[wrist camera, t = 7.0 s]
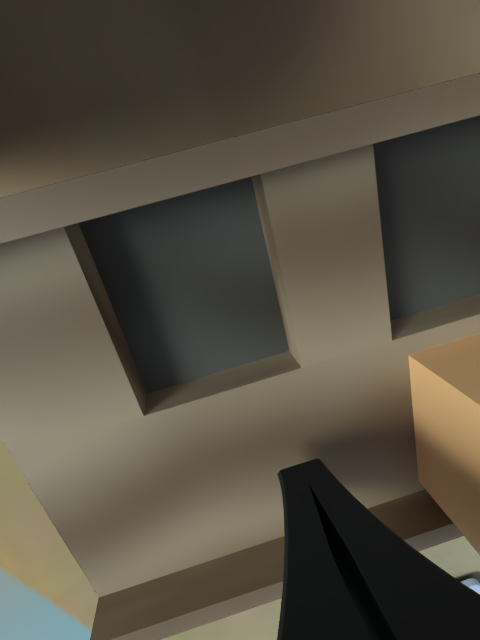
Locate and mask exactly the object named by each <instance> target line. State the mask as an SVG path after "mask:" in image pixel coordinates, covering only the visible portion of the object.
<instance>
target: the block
mask: <svg viewBox="0 0 480 640" xmlns="http://www.w3.org/2000/svg"><path fill="white" fill-rule="evenodd" d="M408 357H409V369H410V381H411V393H412V406H413V418H414V430H415V442H416V454H417V466H418V478H419V482H420V483H421V485H422V486H423V487H424V488H425V489H426V491H427V492H428V493H429V494H430V495H431V497H432V498H433V499H434V500H435V501H436V503H437V504H438V505H439V506H440V507H441V509H442V510H443V511H444V512H445V514H446V515H447V516H448V517H449V518H450V520H451V521H452V522H453V523H454V524H455V526H456V527H457V528H458V529H459V530H460V532H461V533H462V534H463V535H464V536H465V538H466V539H467V540H468V541H469V543H470V544H471V545H472V546H473V547H474V549H475V550H476V551H477V552H478V553H479V555H480V333H478V334H475V335H471V336H468V337H465V338H462V339H458V340H455V341H452V342H449V343H445V344H442V345H439V346H436V347H432V348H429V349H426V350H423V351H420V352H416V353H413V354H410V355H408Z"/></svg>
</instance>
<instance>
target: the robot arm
mask: <svg viewBox="0 0 480 640" xmlns="http://www.w3.org/2000/svg"><path fill="white" fill-rule="evenodd" d="M277 475H278V478H279V482H280V486H281V491H282V499H283V509H284V534H285V544H284V575H283V590H282V602H281V612H280V621H279V629H278V637H277V640H480V583H479V582H478V580H476V579H474V578H470V579H466V580H464V581H461V582H460V581H458V580H457V579H455V578H454V577H452V576H451V575H450V574H448V573H447V572H445V571H444V570H443V569H441V568H440V567H438V566H437V565H436V564H434V563H433V562H431V561H430V560H429V559H427V558H426V557H425V556H423V555H422V554H421V553H419V552H418V551H417V550H415V549H414V548H413V547H412V546H410V545H409V544H408V543H406V542H405V541H404V540H403V539H402V538H400V537H399V536H398V535H397V534H395V533H394V532H393V531H392V530H391V529H390V528H388V527H387V526H386V525H385V524H384V523H382V522H381V521H380V520H379V519H378V518H377V517H376V516H375V515H373V514H372V513H371V512H370V511H369V510H368V509H367V508H366V507H365V506H364V505H363V504H362V503H361V502H360V501H358V500H357V499H356V498H355V497H354V496H353V495H352V494H351V493H350V492H349V491H348V490H347V489H346V488H345V487H344V486H343V485H342V484H341V483H340V481H339V480H338V479H337V478H336V477H335V476H334V475H333V474H332V473H331V472H330V470H329V469H328V468H327V467H326V466H325V464H324V463H323V462H322V461H321V460H320V459H318V458H316V459H313V460H310V461H307V462H304V463H301V464H297V465H294V466H291V467H288V468H285V469H282V470H280V471H279V472H278V474H277Z"/></svg>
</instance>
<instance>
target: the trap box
mask: <svg viewBox="0 0 480 640" xmlns="http://www.w3.org/2000/svg"><path fill="white" fill-rule="evenodd" d="M478 333H480V73H478V74H474V75H470V76H466V77H462V78H458V79H455V80H451V81H447V82H443V83H439V84H435V85H431V86H428V87H424V88H420V89H416V90H412V91H408V92H405V93H401V94H397V95H393V96H389V97H385V98H382V99H378V100H374V101H370V102H366V103H362V104H359V105H355V106H351V107H347V108H343V109H339V110H335V111H332V112H328V113H324V114H320V115H316V116H312V117H309V118H305V119H301V120H297V121H293V122H289V123H286V124H282V125H278V126H274V127H270V128H266V129H263V130H259V131H255V132H251V133H247V134H243V135H240V136H236V137H232V138H228V139H224V140H220V141H216V142H213V143H209V144H205V145H201V146H197V147H193V148H190V149H186V150H182V151H178V152H174V153H170V154H167V155H163V156H159V157H155V158H151V159H147V160H144V161H140V162H136V163H132V164H128V165H124V166H120V167H117V168H113V169H109V170H105V171H101V172H97V173H94V174H90V175H86V176H82V177H78V178H74V179H71V180H67V181H63V182H59V183H55V184H51V185H48V186H44V187H40V188H36V189H32V190H28V191H25V192H21V193H17V194H13V195H9V196H5V197H1V198H0V440H1V441H2V443H3V444H4V446H5V448H6V449H7V451H8V452H9V454H10V456H11V457H12V459H13V460H14V462H15V464H16V465H17V467H18V468H19V470H20V472H21V473H22V475H23V477H24V478H25V480H26V481H27V483H28V485H29V486H30V488H31V489H32V491H33V493H34V494H35V496H36V497H37V499H38V501H39V502H40V504H41V505H42V507H43V509H44V510H45V512H46V513H47V515H48V517H49V518H50V520H51V521H52V523H53V525H54V526H55V528H56V529H57V531H58V533H59V534H60V536H61V538H62V539H63V541H64V542H65V544H66V546H67V547H68V549H69V550H70V552H71V554H72V555H73V557H74V558H75V560H76V562H77V563H78V565H79V566H80V568H81V570H82V571H83V573H84V574H85V576H86V578H87V579H88V581H89V582H90V584H91V586H92V587H93V589H94V590H95V592H96V594H97V595H98V597H99V599H98V604H97V609H96V614H95V619H94V623H93V628H92V633H91V638H90V640H161V639H163V638H166V637H169V636H172V635H175V634H178V633H181V632H184V631H187V630H190V629H193V628H196V627H199V626H201V625H204V624H207V623H210V622H213V621H216V620H219V619H222V618H225V617H228V616H231V615H234V614H236V613H239V612H242V611H245V610H248V609H251V608H254V607H257V606H260V605H263V604H266V603H269V602H272V601H274V600H277V599H280V598H282V590H283V575H284V544H285V534H284V509H283V499H282V491H281V486H280V482H279V478H278V475H277V474H278V472H279V471H280V470H282V469H285V468H288V467H291V466H294V465H297V464H301V463H304V462H307V461H310V460H313V459H316V458H318V459H320V460H321V461H322V462H323V463H324V464H325V466H326V467H327V468H328V469H329V470H330V472H331V473H332V474H333V475H334V476H335V477H336V478H337V479H338V480H339V481H340V483H341V484H342V485H343V486H344V487H345V488H346V489H347V490H348V491H349V492H350V493H351V494H352V495H353V496H354V497H355V498H356V499H357V500H358V501H360V502H361V503H362V504H363V505H364V506H365V507H366V508H367V509H368V510H369V511H370V512H371V513H372V514H373V515H375V516H376V517H377V518H378V519H379V520H380V521H381V522H382V523H384V524H385V525H386V526H387V527H388V528H390V529H391V530H392V531H393V532H394V533H395V534H397V535H398V536H399V537H400V538H402V539H403V540H404V541H405V542H406V543H408V544H409V545H410V546H412V547H413V548H414V549H415V550H417V551H421V550H423V549H426V548H429V547H432V546H435V545H438V544H441V543H444V542H447V541H450V540H453V539H456V538H459V537H461V536H464V535H463V534H462V533H461V532H460V530H459V529H458V528H457V527H456V526H455V524H454V523H453V522H452V521H451V520H450V518H449V517H448V516H447V515H446V514H445V512H444V511H443V510H442V509H441V507H440V506H439V505H438V504H437V503H436V501H435V500H434V499H433V498H432V497H431V495H430V494H429V493H428V492H427V491H426V489H425V488H424V487H423V486H422V485H421V483H420V482H419V478H418V466H417V454H416V442H415V430H414V418H413V406H412V393H411V381H410V369H409V357H408V355H410V354H413V353H416V352H420V351H423V350H426V349H429V348H432V347H436V346H439V345H442V344H445V343H449V342H452V341H455V340H458V339H462V338H465V337H468V336H471V335H475V334H478Z"/></svg>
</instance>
